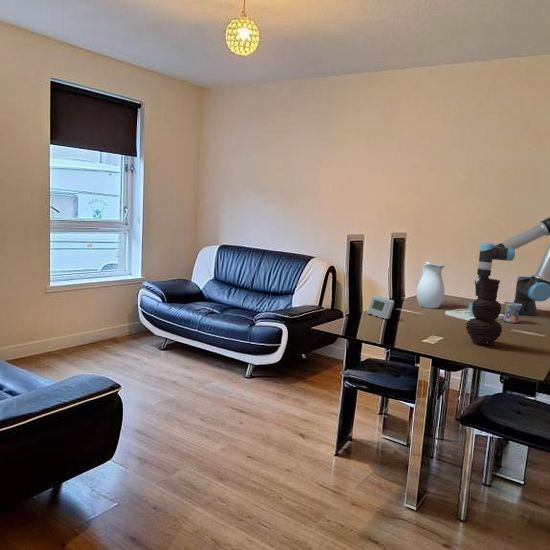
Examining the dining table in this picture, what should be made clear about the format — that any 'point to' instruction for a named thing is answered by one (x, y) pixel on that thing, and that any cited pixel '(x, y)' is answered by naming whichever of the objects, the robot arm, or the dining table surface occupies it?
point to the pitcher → (431, 286)
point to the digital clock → (381, 307)
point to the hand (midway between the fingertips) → (479, 307)
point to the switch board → (466, 314)
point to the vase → (485, 314)
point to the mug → (512, 312)
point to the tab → (470, 306)
